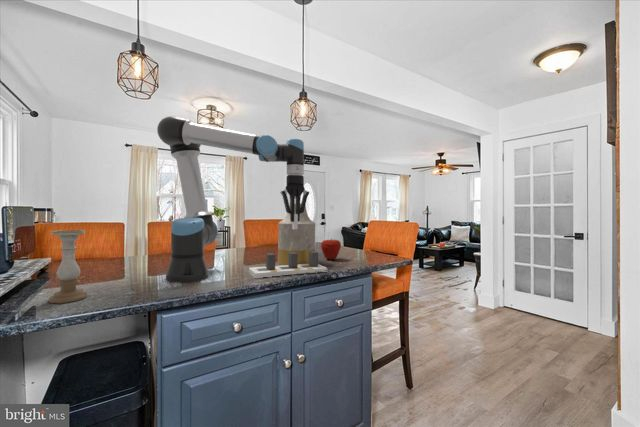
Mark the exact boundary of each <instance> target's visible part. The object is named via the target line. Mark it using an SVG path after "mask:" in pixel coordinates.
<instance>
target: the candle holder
mask: <svg viewBox="0 0 640 427" xmlns="http://www.w3.org/2000/svg"><path fill="white" fill-rule="evenodd" d="M50 234H51V236H58V237H59V238H58V239H59V241H61V243H62V246H61V247H60V248H59V250H61V251H62V257H61V262H60V264H59V267H58V268H57V270H56V277H57V278H58V279H59V281H58V282H57V285H58V286H59V287H60V290H59V291H55V292H54V293H53V295H51V296H50V297H48V302H49V303H51V304H65V303H73V302H77V301H81V300H83V299H86V298H87V297H88V293H87V292H86V291H84V290H83V289H81V288H77V285H78V283H79V282H80V279H78V277H79V276H80V274H81V268H80V266H79V265H78V262H77V261H76V256H75V254H76V253H75V252H76V250H77V249H78V247H77V246H76V245H75V244H76V241H77V240H78V238H79V237H78V236H80V235H85V234H86V231H85V230H82V229H69V230H68V229H66V230H65V229H64V230H54V231H51V233H50Z"/></svg>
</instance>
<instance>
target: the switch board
mask: <svg viewBox="0 0 640 427" xmlns="http://www.w3.org/2000/svg"><path fill="white" fill-rule="evenodd" d="M324 270H327V271H328V267H326V266H324V265H321V264H320V263H318V266H311V265H309V264H297V267H293V268H291V267H289V266H288V265H281V266H279V265H275V269H267V268H266V266H256V267H255V266H253V267H248V274H250V275H251V276H252V277H253V278H254V279H255V278H256V279H263V277H268V278H273V277H272V276H280V275H288V274H296V273H305V272H315V271H324ZM280 277H281V276H280Z"/></svg>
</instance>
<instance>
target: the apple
mask: <svg viewBox="0 0 640 427" xmlns="http://www.w3.org/2000/svg"><path fill="white" fill-rule="evenodd" d="M341 247H342V243H341V242H340V240H339V239H333V238H330V239H325V240H322V242H321V243H320V248H321V251H322V253H323V256H324V258H325V259H327V260H328V259H334V260H337V257H338V254H339V252H340V250H341Z"/></svg>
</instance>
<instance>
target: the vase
mask: <svg viewBox="0 0 640 427" xmlns="http://www.w3.org/2000/svg"><path fill="white" fill-rule="evenodd" d="M289 207H290V203H289ZM300 207H301V203H300ZM294 214H296V202H295V207H294ZM277 230H278V231H277V232H278V234H277V235H278V238H277V240H278V241H277V243H278V244H277V246H278V247H277V266H281V265H288V253H291V252H295V253H298V264H309V252H312V251H316V223H315V222H314V221H313V220H311V218H310V217H309V215H308V212H307V206H306V205H305V209H304V212H303V213H301V214H300V221H299V222H298V229H292V222H291V221H290V214H289V213H287V212H286V215H285V217H284V218H283V219H282V220H280V221H279V222H278V229H277Z"/></svg>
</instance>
